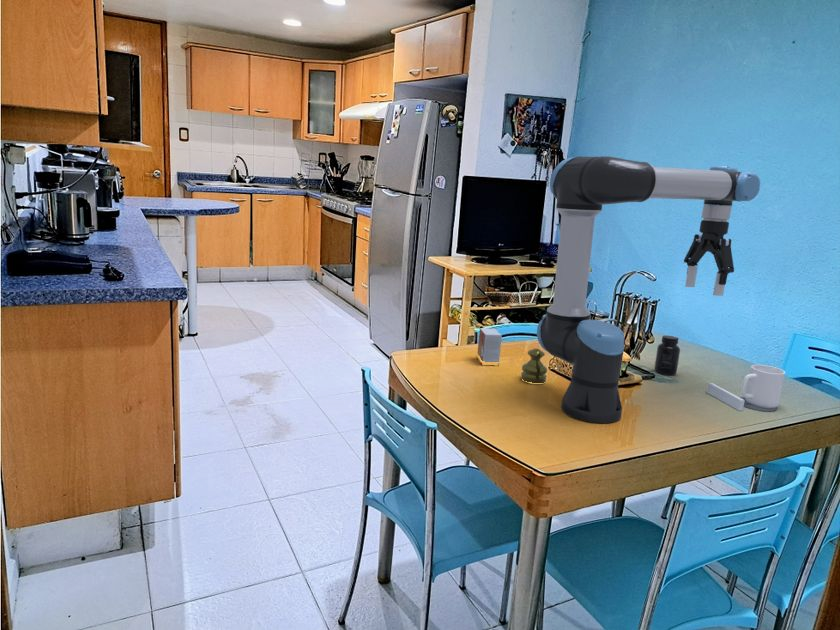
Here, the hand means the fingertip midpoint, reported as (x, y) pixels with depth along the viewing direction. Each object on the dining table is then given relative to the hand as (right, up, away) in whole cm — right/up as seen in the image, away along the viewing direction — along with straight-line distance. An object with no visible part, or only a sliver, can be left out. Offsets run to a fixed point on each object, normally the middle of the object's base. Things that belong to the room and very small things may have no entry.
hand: (703, 291), depth 177 cm
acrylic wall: (+1, -32, -10) cm, 33 cm away
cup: (+9, -32, -11) cm, 36 cm away
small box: (-64, -23, +14) cm, 69 cm away
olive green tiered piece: (-52, -27, -2) cm, 59 cm away
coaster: (+9, -33, -11) cm, 36 cm away
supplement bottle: (-6, -26, +14) cm, 30 cm away
